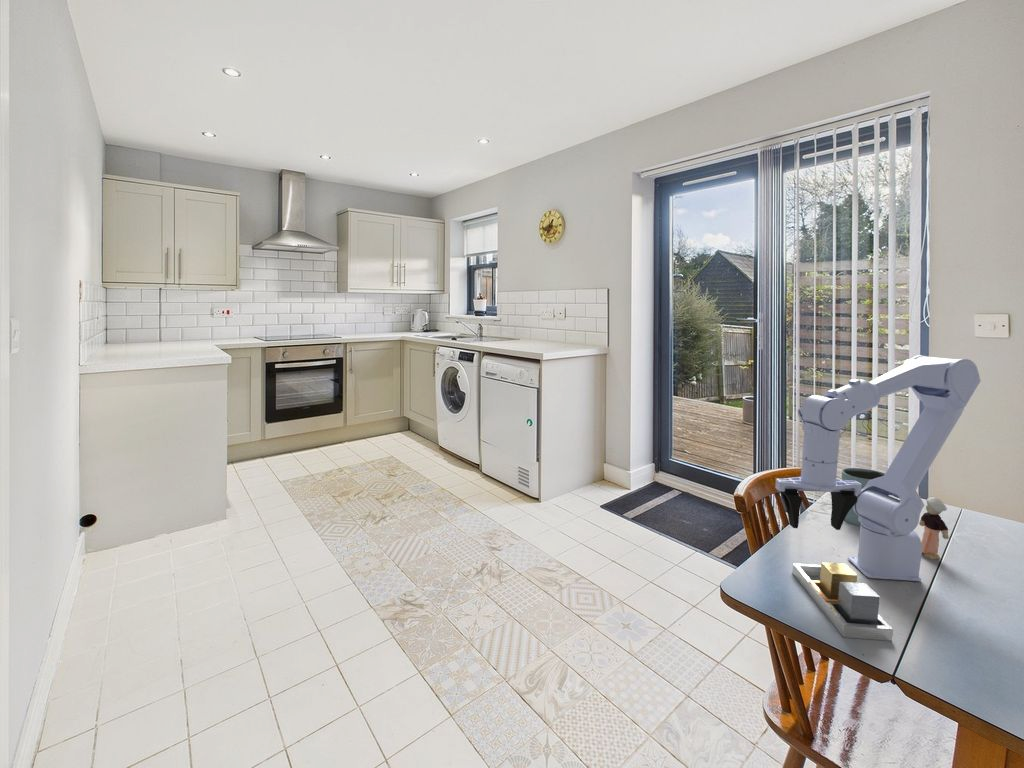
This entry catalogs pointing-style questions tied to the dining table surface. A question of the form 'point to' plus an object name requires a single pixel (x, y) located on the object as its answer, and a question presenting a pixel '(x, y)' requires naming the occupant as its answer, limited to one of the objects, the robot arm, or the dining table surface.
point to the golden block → (834, 578)
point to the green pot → (862, 478)
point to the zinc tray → (830, 606)
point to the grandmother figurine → (933, 527)
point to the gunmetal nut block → (858, 603)
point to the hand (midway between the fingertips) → (814, 527)
